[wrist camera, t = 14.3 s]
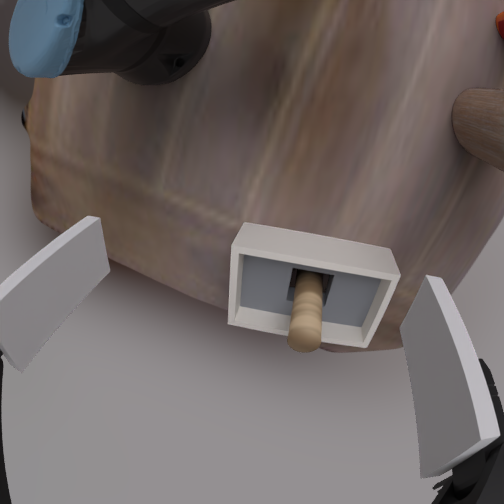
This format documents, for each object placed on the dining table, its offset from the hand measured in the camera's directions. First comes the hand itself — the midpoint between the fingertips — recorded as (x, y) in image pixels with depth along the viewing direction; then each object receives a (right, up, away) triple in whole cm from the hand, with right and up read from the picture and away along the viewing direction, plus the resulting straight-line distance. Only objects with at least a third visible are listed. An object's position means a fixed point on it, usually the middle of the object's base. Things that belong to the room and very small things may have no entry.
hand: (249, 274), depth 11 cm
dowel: (+9, -3, +34) cm, 35 cm away
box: (+9, -3, +33) cm, 35 cm away
